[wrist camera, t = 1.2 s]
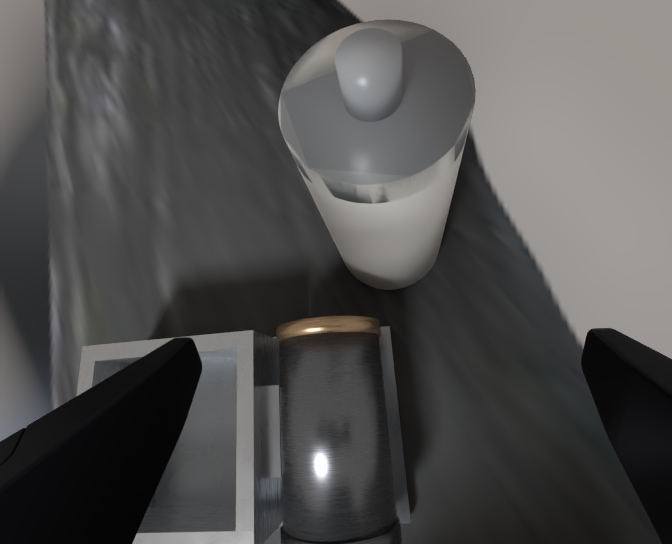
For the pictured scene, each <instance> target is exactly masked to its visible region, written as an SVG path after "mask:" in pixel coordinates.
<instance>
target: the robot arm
mask: <svg viewBox="0 0 672 544" xmlns="http://www.w3.org/2000/svg"><path fill="white" fill-rule="evenodd" d="M581 365H582V370H583V373H584V375H585V378H586V381H587V383H588V386H589V389H590V391H591V394H592V397H593V399H594V402H595V405H596V407H597V410H598V413H599V415H600V418H601V421H602V423H603V426H604V428H605V431H606V433H607V436H608V438H609V440H610V442H611V444H612V446H613V448H614V450H615V452H616V454H617V456H618V458H619V460H620V462H621V464H622V466H623V468H624V470H625V472H626V474H627V476H628V478H629V479H630V481H631V483H632V485H633V487H634V489H635V491H636V493H637V495H638V497H639V499H640V501H641V503H642V505H643V507H644V509H645V511H646V513H647V515H648V517H649V519H650V521H651V522H652V524H653V526H654V528H655V530H656V532H657V534H658V536H659V538H660V540H661V542H662V544H672V359H670V358H668V357H666V356H664V355H663V354H661V353H659V352H657V351H655V350H653V349H651V348H649V347H647V346H645V345H643V344H641V343H640V342H638V341H636V340H634V339H632V338H630V337H628V336H626V335H624V334H622V333H620V332H618V331H616V330H614V329H611V328H597V329H591V330H589V332H588V333H587V336H586V340H585V345H584V349H583V354H582V359H581ZM201 373H202V361H201V359H200V356H199V353H198V350H197V348H196V345H195V342H194V340H193V339H192V338H190V337H178V338H174V339H172V340H170V341H168V342H167V343H165V344H163V345H162V346H160V347H158V348H157V349H155V350H153V351H152V352H150V353H148V354H147V355H145V356H143V357H142V358H140V359H138V360H137V361H135V362H133V363H132V364H130V365H128V366H127V367H125V368H123V369H122V370H120V371H118V372H117V373H115V374H113V375H112V376H110V377H108V378H106V379H105V380H103V381H101V382H100V383H98V384H96V385H95V386H93V387H91V388H90V389H88V390H86V391H85V392H83V393H81V394H80V395H78V396H76V397H75V398H73V399H71V400H70V401H68V402H66V403H65V404H63V405H61V406H60V407H58V408H56V409H55V410H53V411H51V412H50V413H48V414H46V415H45V416H43V417H41V418H40V419H38V420H36V421H34V422H33V423H31V424H29V425H28V426H27V427H26V428H23V429H21V430H19V431H18V432H16V433H14V434H13V435H11V436H9V437H8V438H6V439H5V440H2V441H1V442H0V544H132V543H133V541H134V539H135V537H136V534H137V532H138V530H139V527H140V525H141V523H142V521H143V518H144V516H145V514H146V512H147V509H148V507H149V505H150V503H151V500H152V498H153V496H154V494H155V491H156V489H157V487H158V485H159V482H160V480H161V478H162V476H163V473H164V471H165V469H166V467H167V464H168V462H169V460H170V458H171V455H172V453H173V451H174V449H175V446H176V444H177V442H178V440H179V437H180V435H181V432H182V430H183V428H184V425H185V422H186V419H187V416H188V413H189V410H190V407H191V404H192V401H193V398H194V395H195V392H196V389H197V386H198V383H199V379H200V376H201Z"/></svg>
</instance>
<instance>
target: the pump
mask: <svg viewBox="0 0 672 544" xmlns="http://www.w3.org/2000/svg"><path fill="white" fill-rule="evenodd" d="M474 103H475V84H474V78H473V74H472V71H471V68H470V66H469V64H468V62H467V60H466V58H465V57H464V55H463V54H462V52H461V51H460V50H459V49H458V48H457V47H456V46H455V45H454V43H453V42H451V41H450V40H449V39H447V38H446V37H445V36H443V35H442V34H440V33H438V32H437V31H435V30H433V29H431V28H428V27H426V26H423V25H420V24H416V23H413V22H407V21H401V20H375V21H368V22H363V23H359V24H355V25H351V26H349V27H346V28H343V29H340V30H338V31H336V32H334V33H332V34H330V35H328V36H327V37H325V38H324V39H322V40H320V41H319V42H318V43H316V44H315V45H314V46H312V47H311V48H310V49H309V50H308V51H307V52H306V53H305V54H304V55H303V56H302V57H301V58H300V59H299V60H298V61H297V63H296V64H295V65H294V67H293V68H292V70H291V71H290V73H289V75H288V77H287V79H286V81H285V83H284V85H283V88H282V91H281V95H280V100H279V110H278V115H279V124H280V128H281V132H282V135H283V137H284V139H285V142H286V144H287V146H288V148H289V150H290V152H291V154H292V156H293V158H294V160H295V162H296V164H297V166H298V168H299V170H300V173H301V175H302V177H303V179H304V181H305V183H306V185H307V187H308V189H309V191H310V193H311V195H312V197H313V199H314V201H315V203H316V205H317V208H318V210H319V212H320V214H321V216H322V218H323V220H324V222H325V224H326V226H327V228H328V230H329V232H330V234H331V236H332V238H333V240H334V242H335V245H336V247H337V249H338V251H339V253H340V255H341V257H342V259H343V261H344V263H345V265H346V267H347V268H348V270H349V271H350V272H351V274H352V275H353V276H354V277H356V278H357V279H358V280H359V281H361V282H362V283H364V284H366V285H368V286H371V287H373V288H377V289H384V290H395V289H401V288H404V287H408V286H410V285H412V284H414V283H416V282H417V281H419V280H420V279H422V278H423V277H424V276H425V275H426V274H427V273H428V272H429V271H430V269H431V268H432V267H433V265H434V263H435V261H436V259H437V256H438V253H439V249H440V245H441V241H442V237H443V232H444V228H445V224H446V220H447V216H448V212H449V208H450V204H451V200H452V195H453V191H454V187H455V183H456V179H457V175H458V171H459V167H460V162H461V158H462V154H463V150H464V146H465V142H466V138H467V134H468V129H469V125H470V121H471V117H472V113H473V108H474Z"/></svg>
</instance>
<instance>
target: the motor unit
mask: <svg viewBox="0 0 672 544" xmlns="http://www.w3.org/2000/svg"><path fill="white" fill-rule="evenodd" d="M276 336H277V337H270V336H268V335H265V334H262V333H260V332H257V331H255V330H248V331H238V332H227V333H217V334H206V335H196V336H186V337H190V338H192V339H193V340H194V342H195V345H196V348H197V350H198V353H199V356H200V359H201V361H202V373H201V376H200V379H199V383H198V386H197V389H196V392H195V395H194V398H193V401H192V404H191V407H190V410H189V413H188V416H187V419H186V422H185V425H184V428H183V430H182V432H181V435H180V437H179V440H178V442H177V444H176V446H175V449H174V451H173V453H172V455H171V458H170V460H169V462H168V464H167V467H166V469H165V471H164V473H163V476H162V478H161V480H160V482H159V485H158V487H157V489H156V491H155V494H154V496H153V498H152V500H151V503H150V505H149V507H148V509H147V512H146V514H145V516H144V518H143V521H142V523H141V525H140V527H139V530H138V532H137V534H136V537H135V539H134V541H133V543H132V544H263V543H264V542H265V541H266V540H267V539H268V538H269V536H270V535H271V534H272V533H273V532H274V531H275V530H276V529H277V528H278V527H279V526H282V527H281V544H401V542H402V537H401V527H400V524H411V517H410V508H409V499H408V490H407V480H406V471H405V462H404V453H403V443H402V434H401V425H400V416H399V406H398V397H397V388H396V379H395V369H394V360H393V351H392V342H391V333H390V326H385V327H380V321H379V320H378V319H375V318H371V317H364V316H325V317H314V318H306V319H300V320H294V321H290V322H286V323H283V324H281V325H279V326H277V327H276ZM175 338H178V337H175ZM172 339H174V338H165V339H155V340H144V341H134V342H124V343H113V344H103V345H92V346H83V348H82V356H81V364H80V372H79V380H78V388H77V396H78V395H80V394H81V393H83V392H85V391H86V390H88V389H90V388H91V387H93V386H95V385H96V384H98V383H100V382H101V381H103V380H105V379H106V378H108V377H110V376H112V375H113V374H115V373H117V372H118V371H120V370H122V369H123V368H125V367H127V366H128V365H130V364H132V363H133V362H135V361H137V360H138V359H140V358H142V357H143V356H145V355H147V354H148V353H150V352H152V351H153V350H155V349H157V348H158V347H160V346H162V345H163V344H165V343H167V342H168V341H170V340H172Z"/></svg>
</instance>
